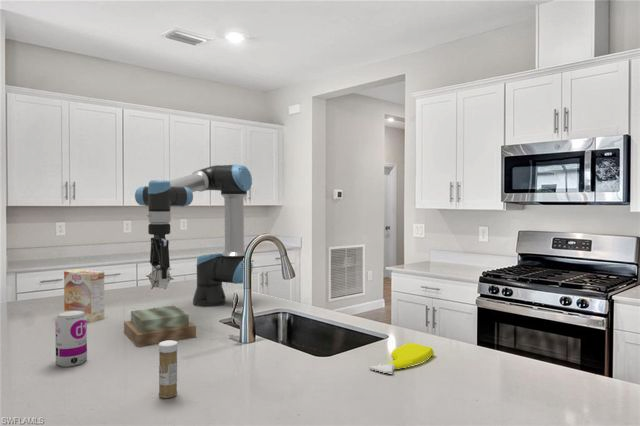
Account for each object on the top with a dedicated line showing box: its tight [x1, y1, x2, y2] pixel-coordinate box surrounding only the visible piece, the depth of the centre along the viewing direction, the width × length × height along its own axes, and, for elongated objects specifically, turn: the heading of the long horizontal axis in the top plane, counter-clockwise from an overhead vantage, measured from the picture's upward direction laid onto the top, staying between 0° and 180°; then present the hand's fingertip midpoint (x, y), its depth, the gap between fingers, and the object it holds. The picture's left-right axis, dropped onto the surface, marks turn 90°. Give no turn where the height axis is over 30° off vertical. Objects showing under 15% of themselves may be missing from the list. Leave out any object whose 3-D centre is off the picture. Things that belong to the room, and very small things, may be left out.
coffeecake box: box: [63, 268, 105, 323], centre depth 188 cm, size 15×7×20 cm, turn 68°
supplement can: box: [54, 310, 88, 368], centre depth 138 cm, size 8×8×15 cm
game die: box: [145, 266, 174, 290], centre depth 167 cm, size 9×8×10 cm
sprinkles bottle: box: [158, 340, 179, 399], centre depth 116 cm, size 5×5×13 cm
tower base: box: [123, 305, 197, 348], centre depth 167 cm, size 20×20×8 cm
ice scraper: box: [368, 342, 435, 374], centre depth 141 cm, size 3×11×24 cm
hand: (159, 285), depth 167 cm, fingers closed on game die, 9 cm apart
